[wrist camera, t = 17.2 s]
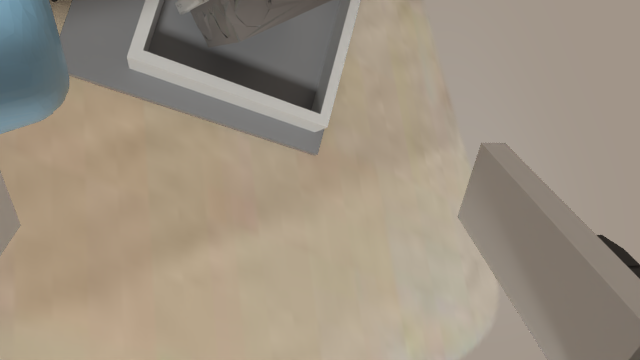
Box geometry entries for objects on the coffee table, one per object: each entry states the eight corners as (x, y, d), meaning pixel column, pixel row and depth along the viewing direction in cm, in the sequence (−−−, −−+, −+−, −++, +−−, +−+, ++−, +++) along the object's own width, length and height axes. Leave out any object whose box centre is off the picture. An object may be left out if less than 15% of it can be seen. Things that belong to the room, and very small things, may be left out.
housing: (51, 69, 30) (38, 54, 27) (130, -156, 33) (127, -196, 29) (314, 155, 37) (329, 151, 34) (365, -38, 39) (384, -60, 36)
